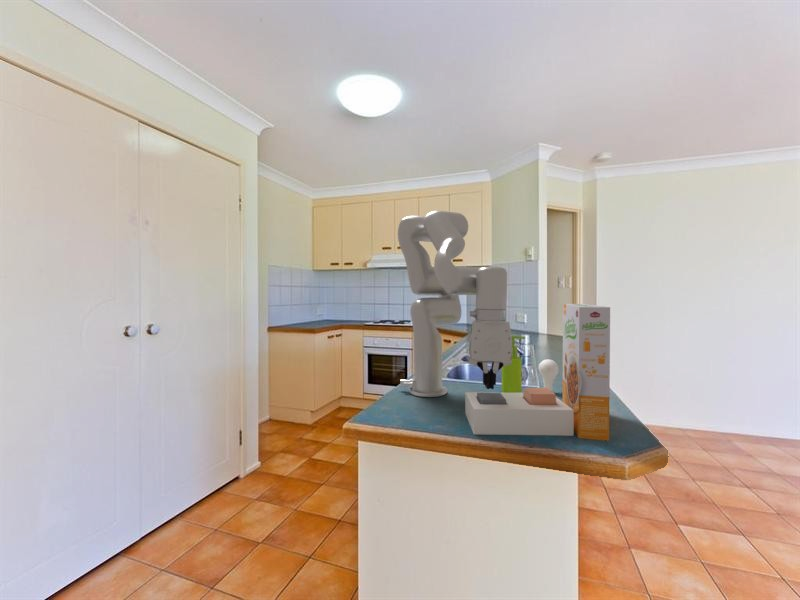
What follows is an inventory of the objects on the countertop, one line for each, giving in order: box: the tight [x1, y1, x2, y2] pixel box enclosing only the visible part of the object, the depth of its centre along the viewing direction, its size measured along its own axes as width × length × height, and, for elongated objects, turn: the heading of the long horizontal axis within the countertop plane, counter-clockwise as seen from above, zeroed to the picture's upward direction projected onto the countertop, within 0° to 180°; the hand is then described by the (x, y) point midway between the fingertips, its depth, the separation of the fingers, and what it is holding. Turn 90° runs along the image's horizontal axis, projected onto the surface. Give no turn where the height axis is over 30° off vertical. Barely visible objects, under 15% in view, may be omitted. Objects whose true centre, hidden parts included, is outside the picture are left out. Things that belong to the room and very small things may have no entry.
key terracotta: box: [522, 387, 557, 405], centre depth 90 cm, size 6×6×4 cm
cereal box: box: [561, 303, 611, 442], centre depth 91 cm, size 22×6×30 cm, turn 164°
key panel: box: [464, 391, 575, 437], centre depth 90 cm, size 23×14×6 cm, turn 88°
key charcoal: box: [477, 392, 506, 405], centre depth 90 cm, size 6×6×4 cm
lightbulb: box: [538, 358, 560, 392], centre depth 118 cm, size 6×6×11 cm
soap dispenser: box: [501, 334, 526, 393], centre depth 110 cm, size 6×7×20 cm
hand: (489, 387), depth 91 cm, fingers closed
